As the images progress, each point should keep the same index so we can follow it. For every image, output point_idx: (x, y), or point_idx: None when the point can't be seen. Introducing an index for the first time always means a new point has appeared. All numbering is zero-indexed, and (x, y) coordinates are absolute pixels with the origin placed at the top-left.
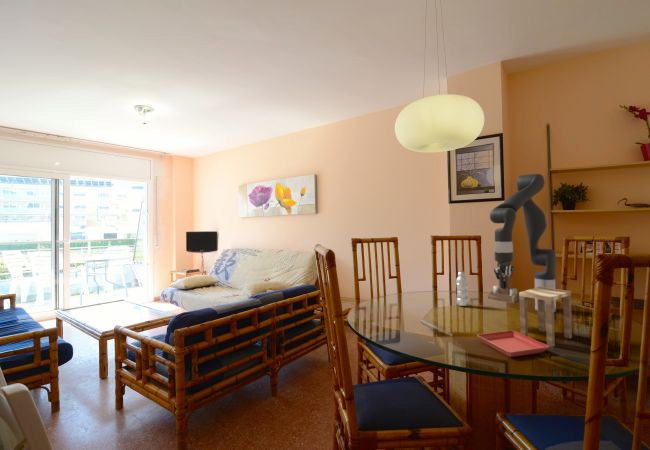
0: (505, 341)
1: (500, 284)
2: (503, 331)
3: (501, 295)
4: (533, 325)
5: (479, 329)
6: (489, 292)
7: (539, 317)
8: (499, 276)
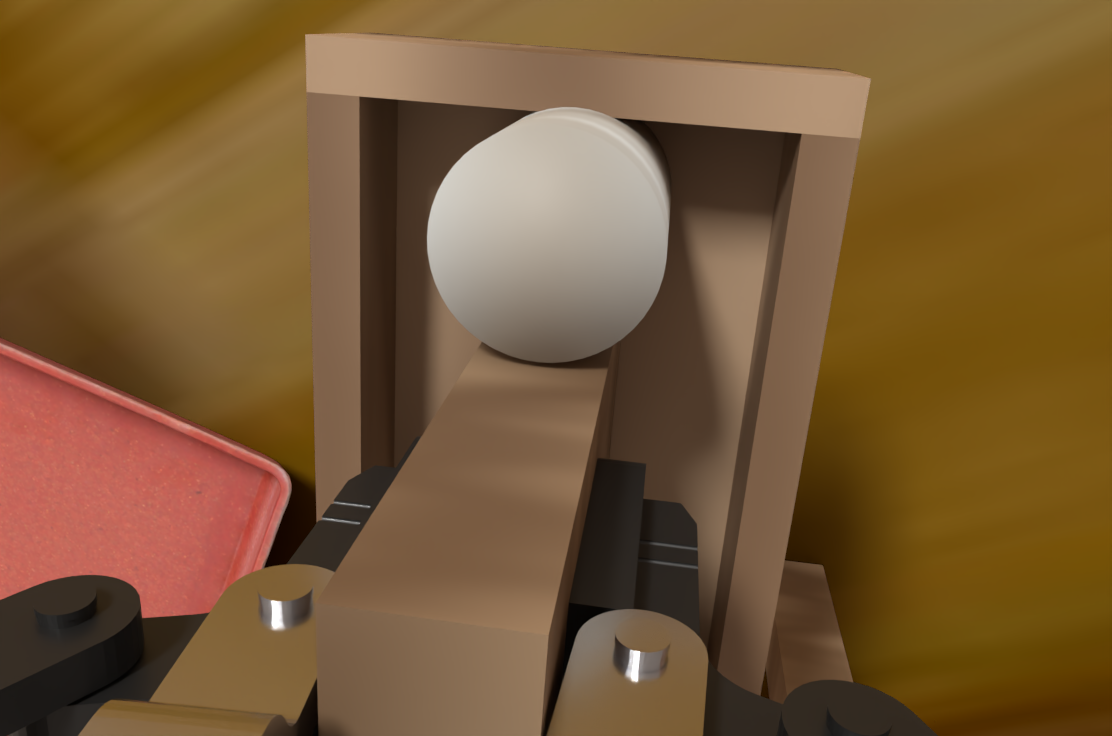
0: (88, 463)
1: (327, 509)
2: (161, 421)
3: (324, 437)
4: (953, 456)
5: (236, 34)
6: (309, 96)
7: (778, 683)
8: (174, 682)
